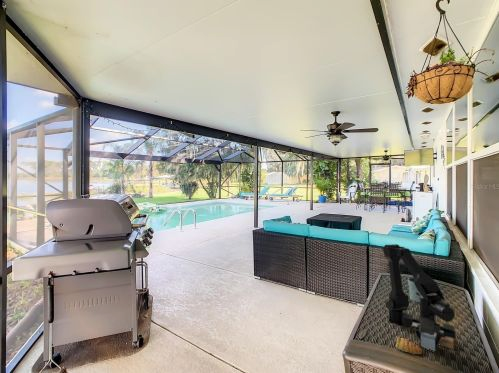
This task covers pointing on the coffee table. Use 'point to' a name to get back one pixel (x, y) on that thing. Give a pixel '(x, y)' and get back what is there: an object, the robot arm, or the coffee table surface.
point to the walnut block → (446, 342)
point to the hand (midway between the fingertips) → (428, 344)
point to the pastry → (408, 346)
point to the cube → (428, 341)
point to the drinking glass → (413, 290)
